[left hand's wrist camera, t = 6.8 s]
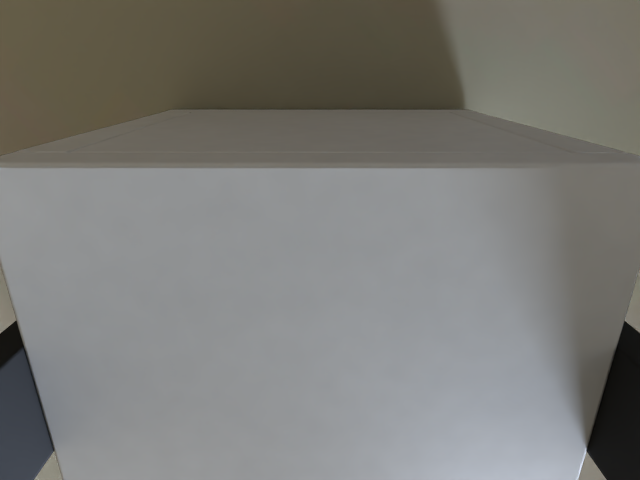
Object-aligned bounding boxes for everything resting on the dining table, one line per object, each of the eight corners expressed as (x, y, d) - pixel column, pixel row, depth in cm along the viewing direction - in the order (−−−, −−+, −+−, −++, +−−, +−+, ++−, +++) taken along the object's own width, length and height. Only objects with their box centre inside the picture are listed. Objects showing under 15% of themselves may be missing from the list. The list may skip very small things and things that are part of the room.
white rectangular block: (423, 492, 24) (493, 775, 15) (216, 492, 24) (146, 774, 15) (469, 109, 17) (673, 163, 7) (170, 109, 17) (-32, 162, 7)
